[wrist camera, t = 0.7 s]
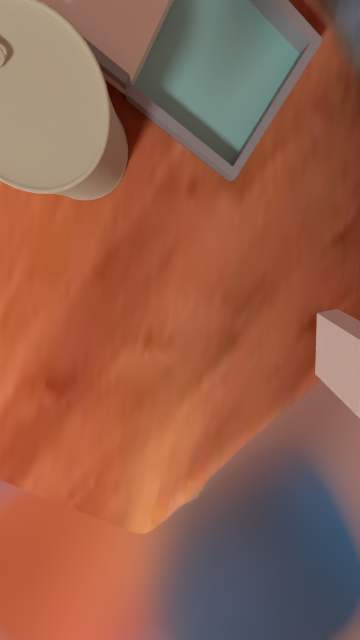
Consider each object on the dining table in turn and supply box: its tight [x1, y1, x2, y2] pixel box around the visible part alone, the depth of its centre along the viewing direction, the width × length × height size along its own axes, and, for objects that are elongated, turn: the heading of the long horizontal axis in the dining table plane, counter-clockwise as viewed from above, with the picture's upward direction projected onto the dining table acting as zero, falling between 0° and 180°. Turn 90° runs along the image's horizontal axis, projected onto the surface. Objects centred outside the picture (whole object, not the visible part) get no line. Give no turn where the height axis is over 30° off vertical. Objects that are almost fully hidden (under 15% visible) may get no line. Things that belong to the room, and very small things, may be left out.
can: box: [0, 0, 128, 200], centre depth 20 cm, size 9×9×12 cm
